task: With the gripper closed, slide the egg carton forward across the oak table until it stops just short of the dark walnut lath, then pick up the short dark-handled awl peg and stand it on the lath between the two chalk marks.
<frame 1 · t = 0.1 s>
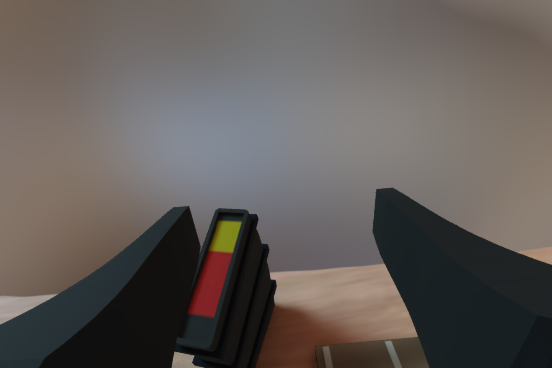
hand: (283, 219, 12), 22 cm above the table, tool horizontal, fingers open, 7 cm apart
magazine: (245, 354, 30), on the table
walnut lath: (452, 365, 27), on the table
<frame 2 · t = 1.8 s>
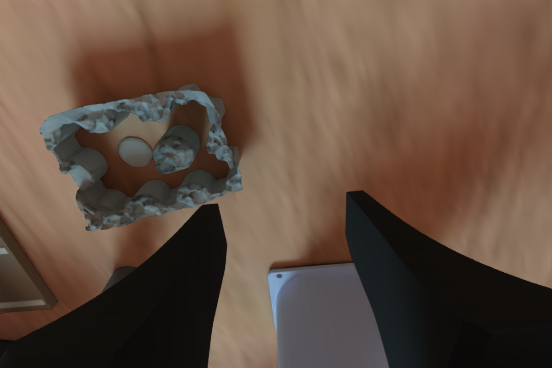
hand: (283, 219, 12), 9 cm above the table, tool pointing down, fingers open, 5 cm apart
egg carton: (160, 142, 20), on the table
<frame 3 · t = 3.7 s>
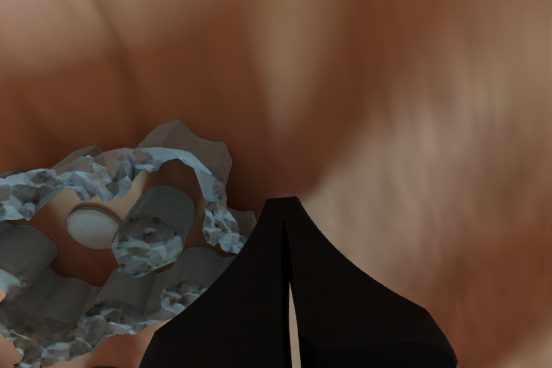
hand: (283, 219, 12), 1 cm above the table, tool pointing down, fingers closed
egg carton: (132, 210, 13), on the table, touching gripper
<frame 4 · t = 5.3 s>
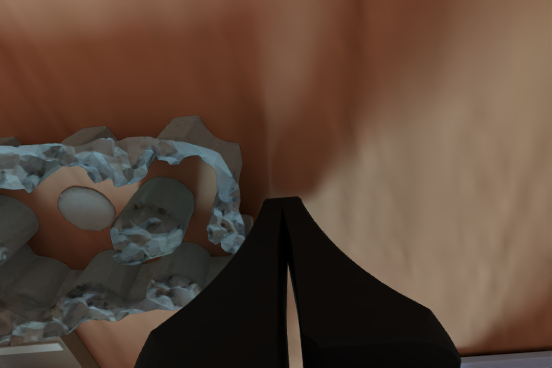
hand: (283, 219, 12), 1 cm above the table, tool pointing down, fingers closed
egg carton: (129, 195, 13), on the table
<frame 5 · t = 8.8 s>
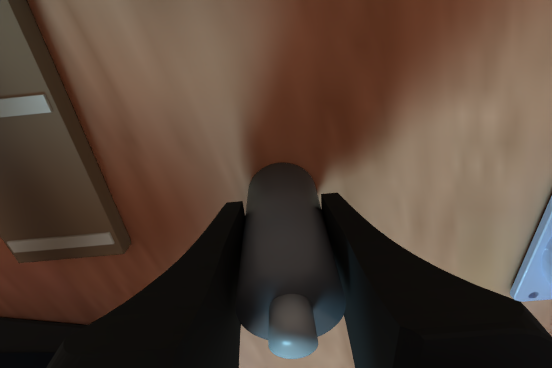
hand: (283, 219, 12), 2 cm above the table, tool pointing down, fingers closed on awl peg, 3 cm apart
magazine: (82, 334, 18), on the table
awl peg: (282, 193, 13), on the table, touching gripper
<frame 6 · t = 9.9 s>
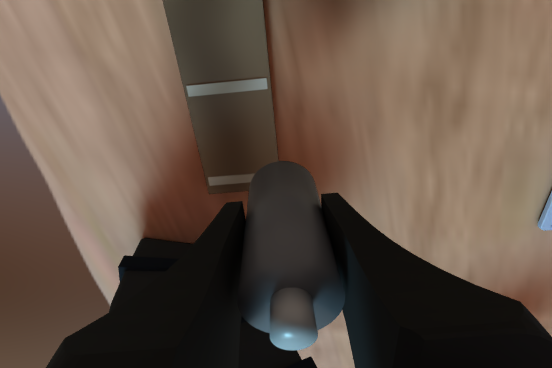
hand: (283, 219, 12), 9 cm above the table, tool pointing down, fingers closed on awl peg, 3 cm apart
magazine: (222, 258, 25), on the table
awl peg: (282, 191, 14), point 7 cm above the table, touching gripper
when the fingers open (3 cm above the table, at t = 11.4 s): awl peg stays where it is, resting on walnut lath.
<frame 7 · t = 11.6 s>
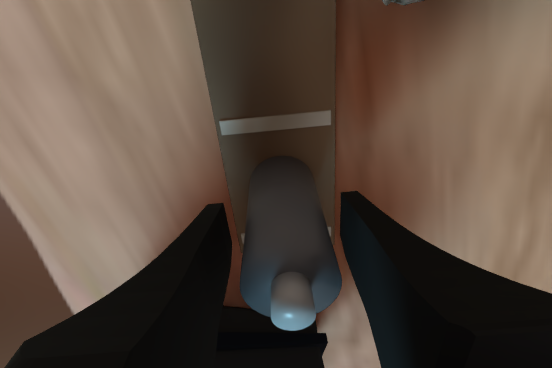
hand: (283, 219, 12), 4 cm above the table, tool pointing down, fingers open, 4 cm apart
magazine: (250, 319, 20), on the table
awl peg: (281, 184, 14), point 1 cm above the table, touching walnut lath
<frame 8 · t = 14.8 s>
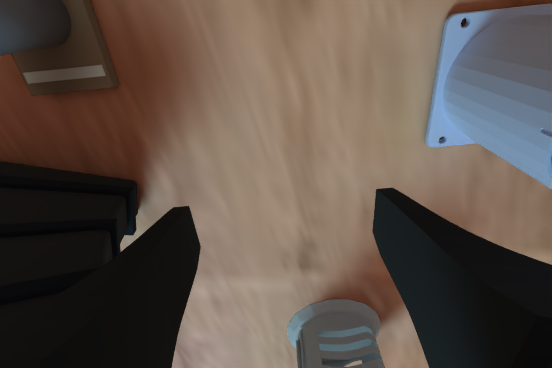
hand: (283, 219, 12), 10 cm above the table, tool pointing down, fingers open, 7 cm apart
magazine: (81, 187, 22), on the table
french press: (325, 327, 31), on the table
awl peg: (40, 15, 16), point 1 cm above the table, touching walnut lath
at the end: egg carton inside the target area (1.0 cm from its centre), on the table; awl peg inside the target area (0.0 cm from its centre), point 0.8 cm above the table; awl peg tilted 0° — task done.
